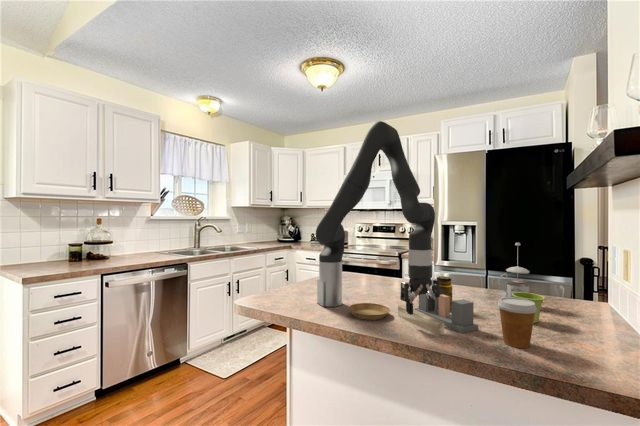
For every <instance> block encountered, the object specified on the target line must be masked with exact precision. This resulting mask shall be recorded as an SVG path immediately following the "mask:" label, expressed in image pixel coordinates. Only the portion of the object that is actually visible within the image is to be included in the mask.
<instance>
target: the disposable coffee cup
mask: <svg viewBox="0 0 640 426" xmlns="http://www.w3.org/2000/svg"><path fill="white" fill-rule="evenodd" d="M498 300H499V301H498V302H497V306H498V309H499V314H500V323H501V333H502V339H503V343H504V344H506V345H507V346H509V347H513V348H517V349H528V348H530V346H531V342H532V341H531V340H532V333H533V327H534V323H533V322H534V315H535V312H536V310H537V307H536V306H535V303H534V302H532V301H530V300H526V299H521V298H513V297H506V296H505V297H504V296H503V297H500V298H499V299H498Z"/></svg>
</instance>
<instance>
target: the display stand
mask: <svg viewBox="0 0 640 426" xmlns="http://www.w3.org/2000/svg"><path fill="white" fill-rule="evenodd" d="M431 290H432V288H431ZM428 299H429V298H428V297H427V295H426V294H421V295H418V307H415V308H414V310H417V311H419V312H421V313H423V314H426V315H428V316H430V317H433V318H435V319H437V320H439V321H442V322H444V327H446V328H450V329H451V330H454V331H456V332H458V333H460V334H464V333H469V332H475V331H479V325H478V324H476V323H474V304H475V303H474V302H473V301H471V300H468V299H467V300H466V299H457V300H452V311H450V296H447V295H443V294H442V295H440V297H439V310H438V309H437V298H436V299H435V309H434V311H429V310H428ZM450 312H451V314H450Z"/></svg>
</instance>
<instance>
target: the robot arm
mask: <svg viewBox="0 0 640 426" xmlns="http://www.w3.org/2000/svg"><path fill="white" fill-rule="evenodd" d="M364 136H365V137H364V139H363V141H362V144H361V147H360V148H359V151H358V153H357V156H356V158H355V160H354V161H353V163H352V165H351V168H350V169H349V171H348V173H347V174H346V175H345V178H344V180H343V182H342V184H341V186H340V187H339V189H338V191H337V193H336V195H335V197H334V199H333V200H332V203H331V205H330V206H329V208H328V210H327V211H326V213H325V214H324V216H323V217H322V219H321V220H320V222H319V223H318V225H317V226H316V229H315V238H316V241H317V242H318V243H319V244H320V245H323V249H322V251H321V252H320V253H319V256H318V268H319V269H318V279H317V280H316V281H317V283H316V284H317V285H316V287H317V288H316V290H317V291H316V299H317V300H316V302H317V304H318V305H320V306H321V307H327V308H328V307H329V308H331V307H333V308H334V307H340V306H341V305H343V256H344V253H345V239H346V238H345V237H346V236H345V233H346V232H345V229H344V226H343V224H342V223H343V221H344V219H345V218H346V216H347V215H348V214H349V213H350V212H352V210H353V209H355V208H356V206H357V205H358V204H359V203H360V202H361V200H362V199H363V198H364V195H365V193H366V192H367V190H368V189H369V186H370V183H371V177H372V169H373V164H374V162H375V160H376V158H377V156H378V153H379V152H380V151H382V152H383V154H384V156H385V157H386V158H387V160H388V163H389V165H390V171H391V177H392V181H393V185H394V186H395V189H396V191H397V193H398V195H399V197H400V206H401V211H402V214H403V217H404V218H405V220H406V221H407V222H408V223H410V224H413V225H415V227H414V230H413V231H411V232H410V233H409V235H408V255H407V256H408V257H407V263H408V266H407V267H408V268H407V269H408V278H409V281H408V282H405V281H401V282H400V296H399V297H400V301H403V302H405V306H406V311H407V313H408V314H410V315H413V309H414V303H413V302H414V300H415V299H416V298H417V297H418V296H419V295H421V294H426V295H427V297H428V298H429V299H428V310H429V311H434V309H435V299H436V298H437V297H440V288H439V280H437V278H433V254H432V233H433V229H434V224H435V220H436V213H435V209H434V208H435V207H434V206H433V205H432V204H431V203H428V202H420V201H419V199H418V197H419V195H420V194H421V189H420V186H419V184H418V182H417V179H416V178H415V176H414V174H413V171H412V169H411V167H410V165H409V163H408V161H407V158H406V154H405V151H404V149H403V145H402V142H401V141H402V140H401V138H400V135H399V132H398V130H397V129H396V128H395V127H393V126H392V125H390V124H388V123H386V122H385V121H381V120H379V121H376V122H374V123H373V124H372V125H371V126H370V127H369V128H368V130H367V132H366V135H364ZM431 289H432V290H431Z"/></svg>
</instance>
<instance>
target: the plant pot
mask: <svg viewBox="0 0 640 426" xmlns="http://www.w3.org/2000/svg"><path fill="white" fill-rule="evenodd" d="M512 295H513V297H514V298H521V299H526V300H530V301H532V302H534V303H535V306H536V307H537V310H536V312H535V315H534V322H533V324H536V323H537V324H539V319H540V314H541V309H542V304H543V301H544V300H545V299H546V298H545V296H543V295H539V294H537V293H531V292H529V293H526V292H521V291H520V292H513V293H512Z"/></svg>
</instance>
